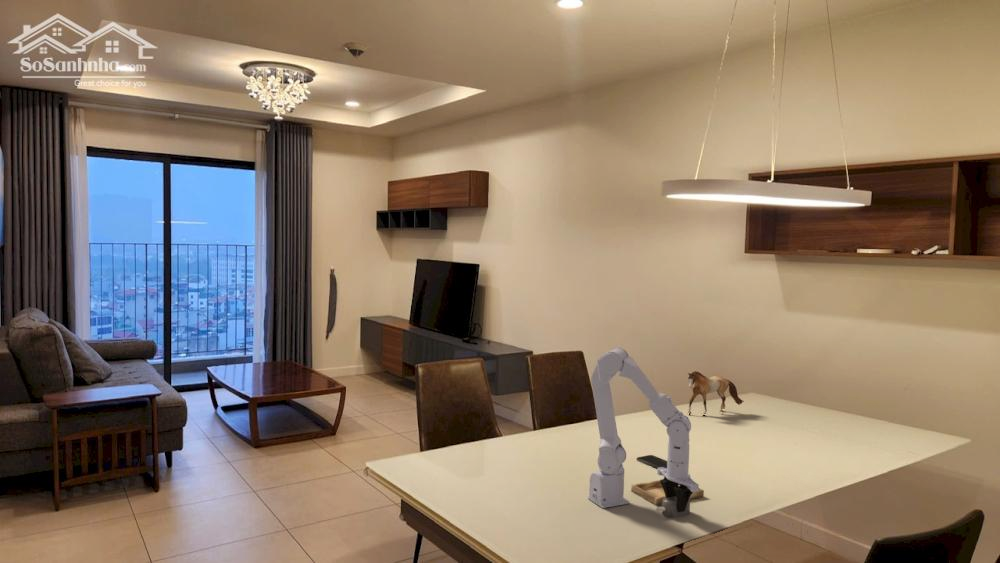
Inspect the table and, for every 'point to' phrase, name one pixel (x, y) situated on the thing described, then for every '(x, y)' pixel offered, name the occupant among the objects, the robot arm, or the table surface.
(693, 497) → the oak tray
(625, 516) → the table surface
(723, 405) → the horse figurine
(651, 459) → the phone
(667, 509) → the grey rounded long block
